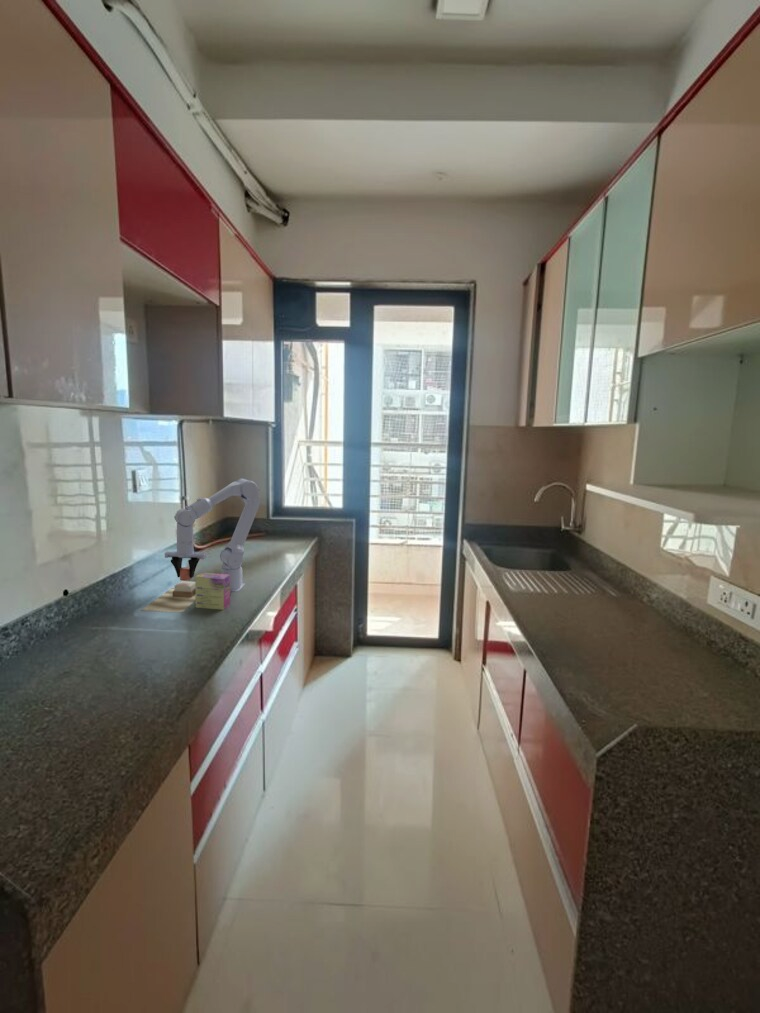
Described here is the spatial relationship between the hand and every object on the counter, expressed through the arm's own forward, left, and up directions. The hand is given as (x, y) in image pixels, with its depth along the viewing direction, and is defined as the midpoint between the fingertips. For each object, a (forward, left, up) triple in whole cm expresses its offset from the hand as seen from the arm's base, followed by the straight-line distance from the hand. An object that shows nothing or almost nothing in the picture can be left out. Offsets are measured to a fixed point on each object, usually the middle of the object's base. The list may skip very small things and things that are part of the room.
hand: (185, 576), depth 177 cm
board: (+6, -1, -7) cm, 10 cm away
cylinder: (0, 0, -1) cm, 1 cm away
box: (+11, +14, -8) cm, 19 cm away
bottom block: (0, 0, -7) cm, 7 cm away
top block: (0, 0, -5) cm, 5 cm away
